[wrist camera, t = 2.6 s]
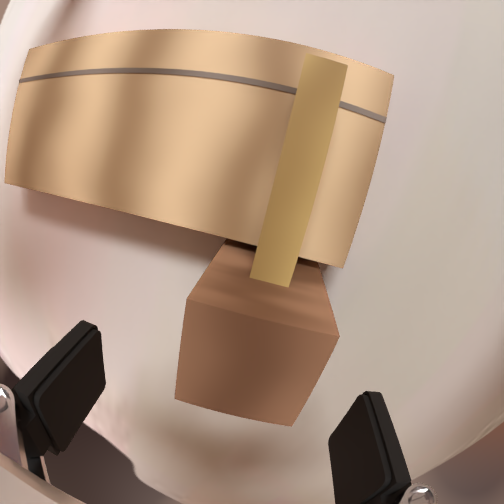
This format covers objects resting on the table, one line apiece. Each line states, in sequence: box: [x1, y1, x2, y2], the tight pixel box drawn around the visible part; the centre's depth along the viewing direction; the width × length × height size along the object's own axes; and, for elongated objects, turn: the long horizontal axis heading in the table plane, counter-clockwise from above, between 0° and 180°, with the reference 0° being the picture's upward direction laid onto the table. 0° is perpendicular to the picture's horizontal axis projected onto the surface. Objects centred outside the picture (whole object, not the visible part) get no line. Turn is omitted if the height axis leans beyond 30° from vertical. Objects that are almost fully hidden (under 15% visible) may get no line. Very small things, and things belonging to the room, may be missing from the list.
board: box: [5, 29, 394, 268], centre depth 13 cm, size 23×10×2 cm, turn 77°
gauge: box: [175, 53, 348, 426], centre depth 12 cm, size 5×14×8 cm, turn 167°
